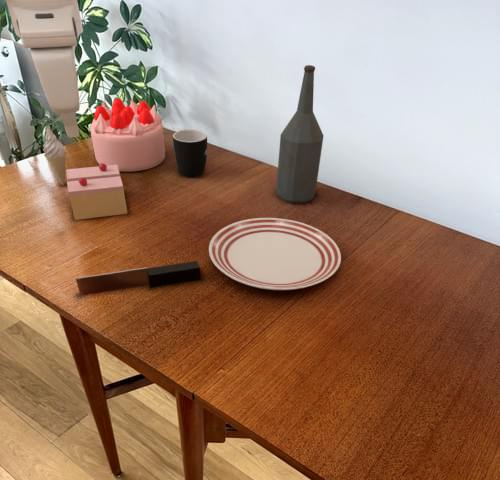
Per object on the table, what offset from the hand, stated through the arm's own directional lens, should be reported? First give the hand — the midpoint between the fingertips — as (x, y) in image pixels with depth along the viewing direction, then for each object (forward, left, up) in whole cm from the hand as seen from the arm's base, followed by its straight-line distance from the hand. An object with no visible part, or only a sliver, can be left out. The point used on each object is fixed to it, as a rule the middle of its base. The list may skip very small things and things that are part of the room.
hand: (72, 124), depth 72 cm
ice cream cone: (-7, +44, -30) cm, 53 cm away
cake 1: (+1, +31, -29) cm, 42 cm away
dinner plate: (+34, -3, -30) cm, 45 cm away
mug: (+27, +45, -30) cm, 60 cm away
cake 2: (+12, +57, -30) cm, 65 cm away
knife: (+6, -4, -29) cm, 30 cm away
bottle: (+50, +24, -30) cm, 63 cm away
